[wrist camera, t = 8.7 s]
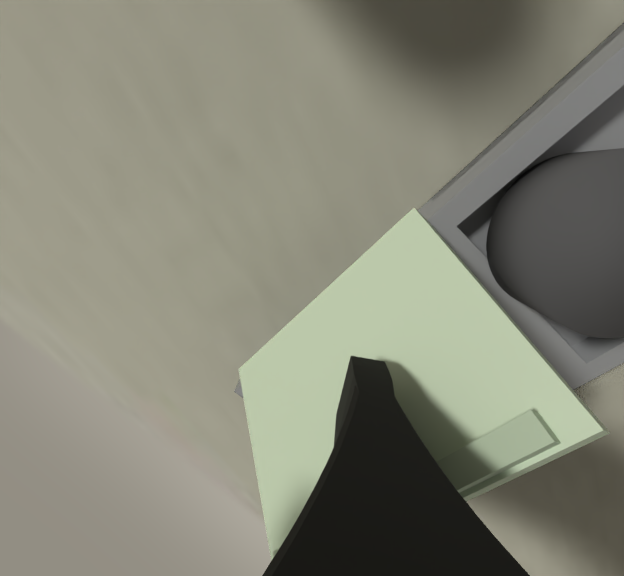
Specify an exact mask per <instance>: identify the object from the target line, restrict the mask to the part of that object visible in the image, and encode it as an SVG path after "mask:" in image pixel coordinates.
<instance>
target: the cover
mask: <svg viewBox="0 0 624 576" xmlns="http://www.w3.org/2000/svg"><path fill="white" fill-rule="evenodd" d="M351 356H356V357H362V358H368V359H374V360H379V361H385V363H386V365H387V367H388V370H389V372H390V375H391V378H392V381H393V387H394V395H395V397H396V399H397V401H398V403H399V404H400V406H401V408H402V410H403V411H404V413H405V414H406V416H407V418H408V419H409V421H410V423H411V424H412V426H413V428H414V429H415V431H416V432H417V434H418V436H419V437H420V439H421V440H422V442H423V443H424V445H425V446H426V448H427V449H428V451H429V452H430V454H431V455H432V456H433V458H434V459H435V461H436V462H437V464H438V465H439V467H440V468H441V469H442V471H443V472H444V474H445V475H446V476H447V478H448V479H449V481H450V482H451V483H452V485H453V486H454V487H455V489H456V490H457V491H458V492H459V494H460V495H461V496H462V497H463V499H464V500H465V501H466V502H467V501H469V500H471V499H473V498H475V497H477V496H479V495H481V494H484V493H486V492H488V491H490V490H492V489H494V488H496V487H498V486H500V485H502V484H505V483H507V482H509V481H511V480H513V479H515V478H517V477H519V476H521V475H523V474H526V473H528V472H530V471H532V470H534V469H536V468H538V467H540V466H542V465H544V464H547V463H549V462H551V461H553V460H555V459H557V458H559V457H561V456H563V455H565V454H568V453H570V452H572V451H574V450H576V449H578V448H580V447H582V446H584V445H586V444H589V443H591V442H593V441H595V440H597V439H599V438H601V437H603V436H605V435H607V434H610V432H609V431H608V430H607V429H606V428H605V427H604V425H603V424H602V423H601V422H600V421H599V420H598V418H597V417H596V416H595V415H594V414H593V413H592V411H591V410H590V409H589V408H588V407H587V406H586V404H585V403H584V402H583V401H582V400H581V399H580V397H579V396H578V395H577V394H576V393H575V392H574V390H573V389H572V388H571V387H570V386H569V385H568V384H567V382H566V381H565V380H564V379H563V378H562V377H561V375H560V374H559V373H558V372H557V371H556V370H555V368H554V367H553V366H552V365H551V364H550V363H549V361H548V360H547V359H546V358H545V357H544V356H543V354H542V353H541V352H540V351H539V350H538V349H537V347H536V346H535V345H534V344H533V343H532V342H531V340H530V339H529V338H528V337H527V336H526V335H525V333H524V332H523V331H522V330H521V329H520V328H519V326H518V325H517V324H516V323H515V322H514V321H513V319H512V318H511V317H510V316H509V315H508V314H507V312H506V311H505V310H504V309H503V308H502V307H501V305H500V304H499V303H498V302H497V301H496V300H495V299H494V297H493V296H492V295H491V294H490V293H489V292H488V290H487V289H486V288H485V287H484V286H483V285H482V283H481V282H480V281H479V280H478V279H477V278H476V276H475V275H474V274H473V273H472V272H471V271H470V269H469V268H468V267H467V266H466V265H465V264H464V262H463V261H462V260H461V259H460V258H459V257H458V255H457V254H456V253H455V252H454V251H453V250H452V248H451V247H450V246H449V245H448V244H447V243H446V241H445V240H444V239H443V238H442V237H441V236H440V234H439V233H438V232H437V231H436V230H435V229H434V227H433V226H432V225H431V224H430V223H429V222H428V220H427V219H426V218H425V217H424V216H422V215H421V214H420V213H419V212H418V211H417V210H416V209H415V208H413V209H412V210H411V211H410V212H409V213H408V214H406V215H405V216H404V217H403V218H402V219H401V220H400V221H399V222H398V223H397V224H396V225H395V226H393V227H392V228H391V229H390V230H389V231H388V232H387V233H386V234H385V235H384V236H383V237H381V238H380V239H379V240H378V241H377V242H376V243H375V244H374V245H373V246H372V247H371V248H370V249H368V250H367V251H366V252H365V253H364V254H363V255H362V256H361V257H360V258H359V259H358V260H357V261H355V262H354V263H353V264H352V265H351V266H350V267H349V268H348V269H347V270H346V271H345V272H344V273H342V274H341V275H340V276H339V277H338V278H337V279H336V280H335V281H334V282H333V283H332V284H330V285H329V286H328V287H327V288H326V289H325V290H324V291H323V292H322V293H321V294H320V295H319V296H317V297H316V298H315V299H314V300H313V301H312V302H311V303H310V304H309V305H308V306H307V307H306V308H304V309H303V310H302V311H301V312H300V313H299V314H298V315H297V316H296V317H295V318H294V319H293V320H291V321H290V322H289V323H288V324H287V325H286V326H285V327H284V328H283V329H282V330H281V331H279V332H278V333H277V334H276V335H275V336H274V337H273V338H272V339H271V340H270V341H269V342H268V343H266V344H265V345H264V346H263V347H262V348H261V349H260V350H259V351H258V352H257V353H256V354H255V355H253V356H252V357H251V358H250V359H249V360H248V361H247V362H246V363H245V364H244V365H243V366H242V367H240V368H239V375H240V381H241V386H242V392H243V398H244V404H245V410H246V416H247V421H248V427H249V433H250V439H251V445H252V450H253V456H254V462H255V468H256V474H257V480H258V485H259V491H260V497H261V503H262V509H263V515H264V520H265V526H266V532H267V538H268V544H269V550H270V555H271V561H272V559H273V558H274V556H275V555H276V553H277V551H278V550H279V548H280V547H281V545H282V543H283V542H284V540H285V539H286V537H287V535H288V534H289V532H290V530H291V529H292V527H293V525H294V524H295V522H296V520H297V518H298V517H299V515H300V513H301V511H302V509H303V508H304V506H305V504H306V502H307V500H308V498H309V497H310V495H311V493H312V491H313V489H314V487H315V485H316V483H317V482H318V480H319V478H320V475H321V473H322V471H323V469H324V467H325V465H326V463H327V461H328V459H329V457H330V455H331V452H332V450H333V448H334V437H335V423H336V413H337V409H338V405H339V401H340V397H341V393H342V389H343V385H344V381H345V377H346V373H347V369H348V365H349V361H350V357H351Z"/></svg>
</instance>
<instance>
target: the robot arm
mask: <svg viewBox="0 0 624 576" xmlns="http://www.w3.org/2000/svg"><path fill="white" fill-rule="evenodd" d="M263 576H530V575H529V574H528V573H527V572H526V571H525V570H524V569H523V568H522V567H521V565H520V564H519V563H518V562H517V561H516V560H515V559H514V558H513V557H512V555H511V554H510V553H509V552H508V551H507V550H506V549H505V548H504V547H503V545H502V544H501V543H500V542H499V541H498V540H497V539H496V538H495V536H494V535H493V534H492V533H491V532H490V531H489V529H488V528H487V527H486V526H485V525H484V524H483V522H482V521H481V520H480V519H479V518H478V516H477V515H476V514H475V513H474V511H473V510H472V509H471V508H470V506H469V505H468V504H467V502H466V501H465V500H464V499H463V497H462V496H461V495H460V494H459V492H458V491H457V490H456V489H455V487H454V486H453V485H452V483H451V482H450V481H449V479H448V478H447V476H446V475H445V474H444V472H443V471H442V469H441V468H440V467H439V465H438V464H437V462H436V461H435V459H434V458H433V456H432V455H431V454H430V452H429V451H428V449H427V448H426V446H425V445H424V443H423V442H422V440H421V439H420V437H419V436H418V434H417V432H416V431H415V429H414V428H413V426H412V424H411V423H410V421H409V419H408V418H407V416H406V414H405V413H404V411H403V410H402V408H401V406H400V404H399V403H398V401H397V399H396V397H395V395H394V387H393V381H392V378H391V375H390V372H389V370H388V367H387V365H386V363H385V361H379V360H374V359H368V358H362V357H356V356H351V357H350V361H349V365H348V369H347V373H346V377H345V381H344V385H343V389H342V393H341V397H340V401H339V405H338V409H337V413H336V423H335V437H334V448H333V450H332V452H331V455H330V457H329V459H328V461H327V463H326V465H325V467H324V469H323V471H322V473H321V475H320V478H319V480H318V482H317V483H316V485H315V487H314V489H313V491H312V493H311V495H310V497H309V498H308V500H307V502H306V504H305V506H304V508H303V509H302V511H301V513H300V515H299V517H298V518H297V520H296V522H295V524H294V525H293V527H292V529H291V530H290V532H289V534H288V535H287V537H286V539H285V540H284V542H283V543H282V545H281V547H280V548H279V550H278V551H277V553H276V555H275V556H274V558H273V559H272V561H271V563H270V564H269V566H268V568H267V569H266V571H265V573H264V574H263Z"/></svg>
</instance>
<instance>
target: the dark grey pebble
mask: <svg viewBox="0 0 624 576" xmlns="http://www.w3.org/2000/svg"><path fill="white" fill-rule="evenodd" d="M486 251H487V259H488V264H489V267H490V270H491V272H492V275H493V277H494V278H495V280H496V282H497V283H498V285H499V286H500V287H501V288H502V289H503V290H504V291H505V292H506V293H507V294H508V295H509V296H511V297H513V298H514V299H516V300H517V301H519V302H521V303H523V304H525V305H526V306H528V307H530V308H532V309H534V310H536V311H537V312H539V313H541V314H543V315H545V316H546V317H548V318H550V319H552V320H554V321H556V322H557V323H559V324H561V325H563V326H565V327H566V328H568V329H570V330H572V331H575V332H577V333H579V334H583V335H586V336H590V337H597V338H616V337H624V148H618V149H608V150H597V151H586V152H576V153H566V154H562V155H558V156H554V157H552V158H549V159H547V160H544V161H542V162H540V163H539V164H537V165H535V166H533V167H532V168H530V169H529V170H528V171H526V172H525V173H524V174H522V175H521V176H520V177H519V178H518V179H517V180H516V181H515V182H514V183H513V184H512V185H511V186H510V187H509V188H508V190H507V191H506V192H505V194H504V195H503V196H502V198H501V200H500V201H499V203H498V205H497V206H496V208H495V211H494V213H493V215H492V218H491V221H490V224H489V228H488V233H487V242H486Z"/></svg>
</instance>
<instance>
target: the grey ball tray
mask: <svg viewBox="0 0 624 576" xmlns="http://www.w3.org/2000/svg"><path fill="white" fill-rule="evenodd" d="M618 148H624V23H623V24H622V25H620V26H619V27H618V28H617V29H616V30H615V31H614V32H613V33H612V34H611V35H610V36H608V37H607V38H606V39H605V40H604V41H603V42H602V43H601V44H600V45H599V46H597V47H596V48H595V49H594V50H593V51H592V52H591V53H590V54H589V55H588V56H587V57H585V58H584V59H583V60H582V61H581V62H580V63H579V64H578V65H577V66H576V67H574V68H573V69H572V70H571V71H570V72H569V73H568V74H567V75H566V76H565V77H564V78H562V79H561V80H560V81H559V82H558V83H557V84H556V85H555V86H554V87H553V88H551V89H550V90H549V91H548V92H547V93H546V94H545V95H544V96H543V97H542V98H541V99H539V100H538V101H537V102H536V103H535V104H534V105H533V106H532V107H531V108H530V109H528V110H527V111H526V112H525V113H524V114H523V115H522V116H521V117H520V118H519V119H517V120H516V121H515V122H514V123H513V124H512V125H511V126H510V127H509V128H508V129H507V130H505V131H504V132H503V133H502V134H501V135H500V136H499V137H498V138H497V139H496V140H494V141H493V142H492V143H491V144H490V145H489V146H488V147H487V148H486V149H485V150H484V151H482V152H481V153H480V154H479V155H478V156H477V157H476V158H475V159H474V160H473V161H471V162H470V163H469V164H468V165H467V166H466V167H465V168H464V169H463V170H462V171H461V172H459V173H458V174H457V175H456V176H455V177H454V178H453V179H452V180H451V181H450V182H448V183H447V184H446V185H445V186H444V187H443V188H442V189H441V190H440V191H439V192H438V193H436V194H435V195H434V196H433V197H432V198H431V199H430V200H429V201H428V202H427V203H425V204H424V205H423V206H422V207H421V208H420V209H419V210H418V212H419V213H420V214H421V215H422V216H424V217H425V218H426V219H427V220H428V222H429V223H430V224H431V225H432V226H433V227H434V229H435V230H436V231H437V232H438V233H439V234H440V236H441V237H442V238H443V239H444V240H445V241H446V243H447V244H448V245H449V246H450V247H451V248H452V250H453V251H454V252H455V253H456V254H457V255H458V257H459V258H460V259H461V260H462V261H463V262H464V264H465V265H466V266H467V267H468V268H469V269H470V271H471V272H472V273H473V274H474V275H475V276H476V278H477V279H478V280H479V281H480V282H481V283H482V285H483V286H484V287H485V288H486V289H487V290H488V292H489V293H490V294H491V295H492V296H493V297H494V299H495V300H496V301H497V302H498V303H499V304H500V305H501V307H502V308H503V309H504V310H505V311H506V312H507V314H508V315H509V316H510V317H511V318H512V319H513V321H514V322H515V323H516V324H517V325H518V326H519V328H520V329H521V330H522V331H523V332H524V333H525V335H526V336H527V337H528V338H529V339H530V340H531V342H532V343H533V344H534V345H535V346H536V347H537V349H538V350H539V351H540V352H541V353H542V354H543V356H544V357H545V358H546V359H547V360H548V361H549V363H550V364H551V365H552V366H553V367H554V368H555V370H556V371H557V372H558V373H559V374H560V375H561V377H562V378H563V379H564V380H565V381H566V382H567V384H568V385H569V386H570V387H571V388H572V389H573V390H574V389H576V388H578V387H580V386H581V385H583V384H585V383H587V382H589V381H591V380H592V379H594V378H596V377H598V376H600V375H602V374H603V373H605V372H607V371H609V370H611V369H613V368H614V367H616V366H618V365H620V364H622V363H624V337H616V338H597V337H590V336H586V335H583V334H579V333H577V332H575V331H572V330H570V329H568V328H566V327H565V326H563V325H561V324H559V323H557V322H556V321H554V320H552V319H550V318H548V317H546V316H545V315H543V314H541V313H539V312H537V311H536V310H534V309H532V308H530V307H528V306H526V305H525V304H523V303H521V302H519V301H517V300H516V299H514V298H513V297H511V296H509V295H508V294H507V293H506V292H505V291H504V290H503V289H502V288H501V287H500V286H499V285H498V283H497V282H496V280H495V278H494V277H493V275H492V272H491V270H490V267H489V264H488V259H487V251H486V242H487V233H488V228H489V224H490V221H491V218H492V215H493V213H494V211H495V208H496V206H497V205H498V203H499V201H500V200H501V198H502V196H503V195H504V194H505V192H506V191H507V190H508V188H509V187H510V186H511V185H512V184H513V183H514V182H515V181H516V180H517V179H518V178H519V177H520V176H521V175H522V174H524V173H525V172H526V171H528V170H529V169H530V168H532V167H533V166H535V165H537V164H539V163H540V162H542V161H544V160H547V159H549V158H552V157H554V156H558V155H562V154H566V153H576V152H586V151H597V150H608V149H618ZM234 392H235V393H237V394H238V395H240V396H241V397H242V398H243V392H242V386H241V381H240V379H239V382H238V384H237V386H236V389H235V391H234Z"/></svg>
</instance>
